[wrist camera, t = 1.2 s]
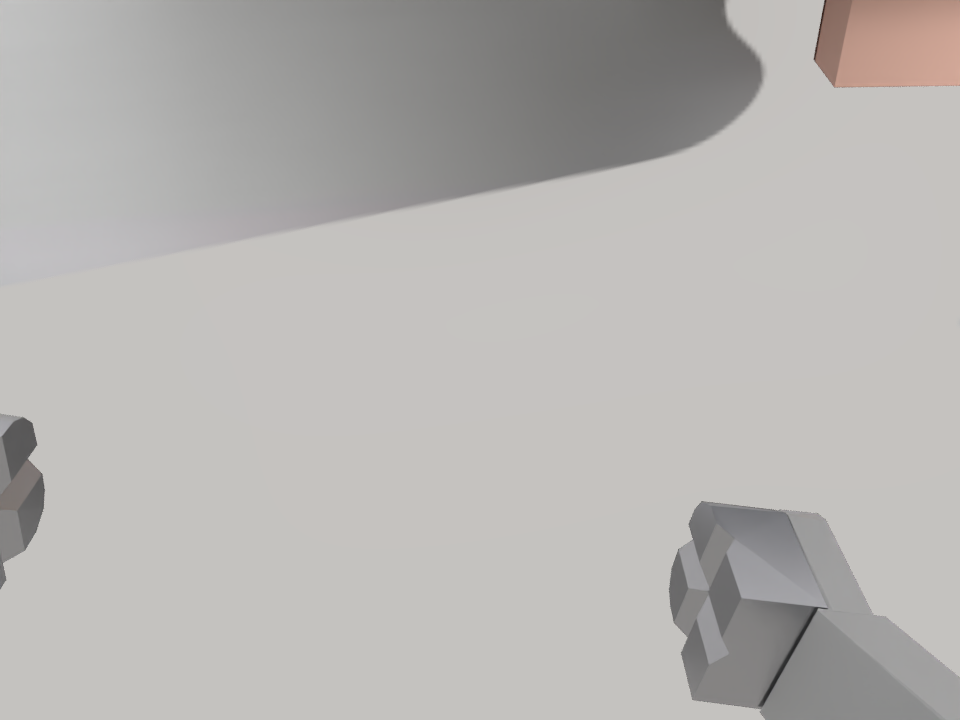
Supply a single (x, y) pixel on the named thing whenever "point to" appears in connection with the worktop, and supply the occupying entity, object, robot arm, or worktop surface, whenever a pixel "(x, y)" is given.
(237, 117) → the worktop surface
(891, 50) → the pink rectangular block
